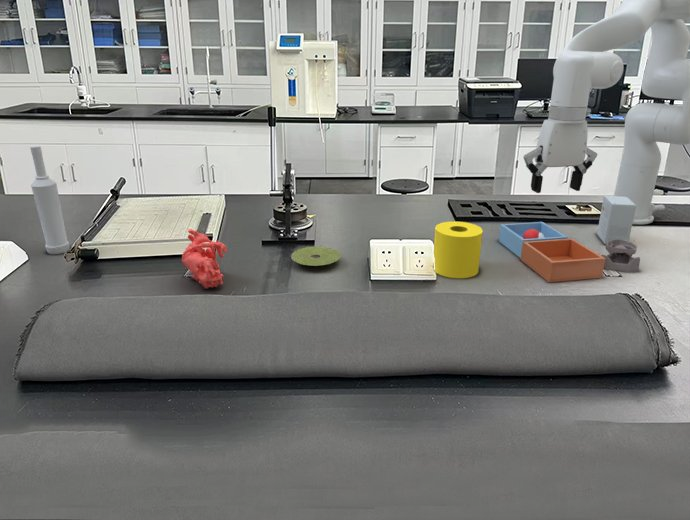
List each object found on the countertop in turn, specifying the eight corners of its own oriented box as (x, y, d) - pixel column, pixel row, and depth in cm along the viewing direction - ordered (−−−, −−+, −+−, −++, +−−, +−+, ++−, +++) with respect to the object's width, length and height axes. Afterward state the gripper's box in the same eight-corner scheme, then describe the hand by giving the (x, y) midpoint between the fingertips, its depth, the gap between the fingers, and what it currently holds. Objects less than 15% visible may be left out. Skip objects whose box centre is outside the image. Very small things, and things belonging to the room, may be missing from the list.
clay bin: (569, 256, 125) (572, 238, 123) (601, 277, 114) (605, 258, 112) (520, 259, 123) (522, 241, 121) (548, 282, 112) (552, 262, 110)
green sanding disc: (318, 250, 128) (317, 242, 128) (350, 263, 121) (350, 255, 120) (281, 262, 121) (280, 255, 120) (313, 277, 114) (313, 269, 113)
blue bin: (540, 238, 136) (542, 221, 134) (564, 254, 126) (568, 237, 124) (498, 241, 134) (500, 224, 132) (520, 258, 124) (522, 240, 122)
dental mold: (639, 264, 121) (644, 243, 119) (636, 274, 115) (641, 253, 113) (601, 257, 125) (605, 237, 123) (596, 266, 119) (601, 246, 117)
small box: (628, 246, 131) (637, 205, 127) (603, 244, 132) (612, 204, 128) (619, 235, 138) (627, 196, 134) (596, 234, 139) (603, 195, 135)
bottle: (75, 248, 129) (53, 145, 119) (56, 256, 125) (32, 149, 115) (60, 245, 131) (37, 143, 121) (41, 252, 127) (16, 147, 117)
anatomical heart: (212, 302, 106) (191, 254, 100) (182, 284, 114) (162, 238, 108) (246, 279, 111) (229, 231, 105) (216, 263, 119) (198, 218, 113)
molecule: (520, 247, 129) (523, 231, 127) (522, 241, 133) (525, 225, 131) (542, 250, 127) (545, 233, 125) (543, 243, 131) (546, 227, 129)
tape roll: (451, 281, 112) (454, 240, 108) (423, 265, 120) (426, 225, 116) (487, 272, 116) (492, 232, 112) (458, 257, 124) (462, 219, 121)
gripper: (593, 111, 120) (580, 184, 127) (522, 113, 118) (512, 188, 125) (613, 115, 114) (599, 193, 120) (538, 117, 111) (528, 196, 118)
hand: (555, 190), depth 122 cm, fingers open, 9 cm apart
